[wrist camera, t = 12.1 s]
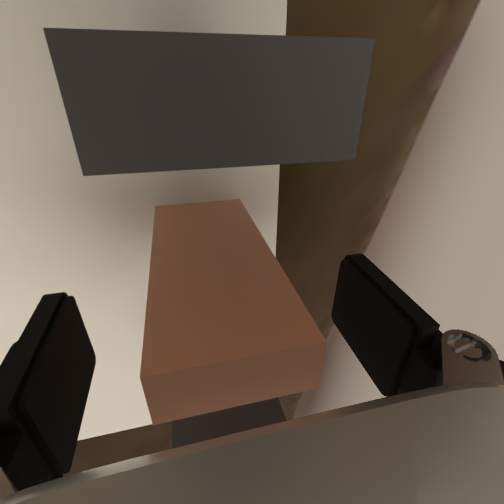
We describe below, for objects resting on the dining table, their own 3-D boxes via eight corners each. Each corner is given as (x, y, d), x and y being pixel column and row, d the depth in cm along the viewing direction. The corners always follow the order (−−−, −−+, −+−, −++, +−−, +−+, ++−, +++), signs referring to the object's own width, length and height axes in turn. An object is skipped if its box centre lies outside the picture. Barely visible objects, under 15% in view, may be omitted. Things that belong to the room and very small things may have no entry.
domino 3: (170, 301, 21) (173, 508, 11) (241, 291, 22) (303, 471, 12) (173, 323, 22) (179, 531, 12) (241, 312, 23) (299, 495, 13)
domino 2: (155, 206, 18) (139, 377, 8) (239, 199, 19) (326, 341, 9) (160, 237, 19) (152, 425, 9) (240, 228, 20) (319, 387, 10)
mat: (-996, -622, 6) (-1191, -739, 5) (291, -285, 11) (301, -315, 10) (-46, 455, 25) (-53, 469, 24) (266, 388, 30) (269, 397, 29)
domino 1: (131, 64, 14) (43, 28, 4) (236, 65, 15) (375, 38, 5) (138, 111, 15) (83, 175, 5) (237, 109, 16) (355, 160, 6)
